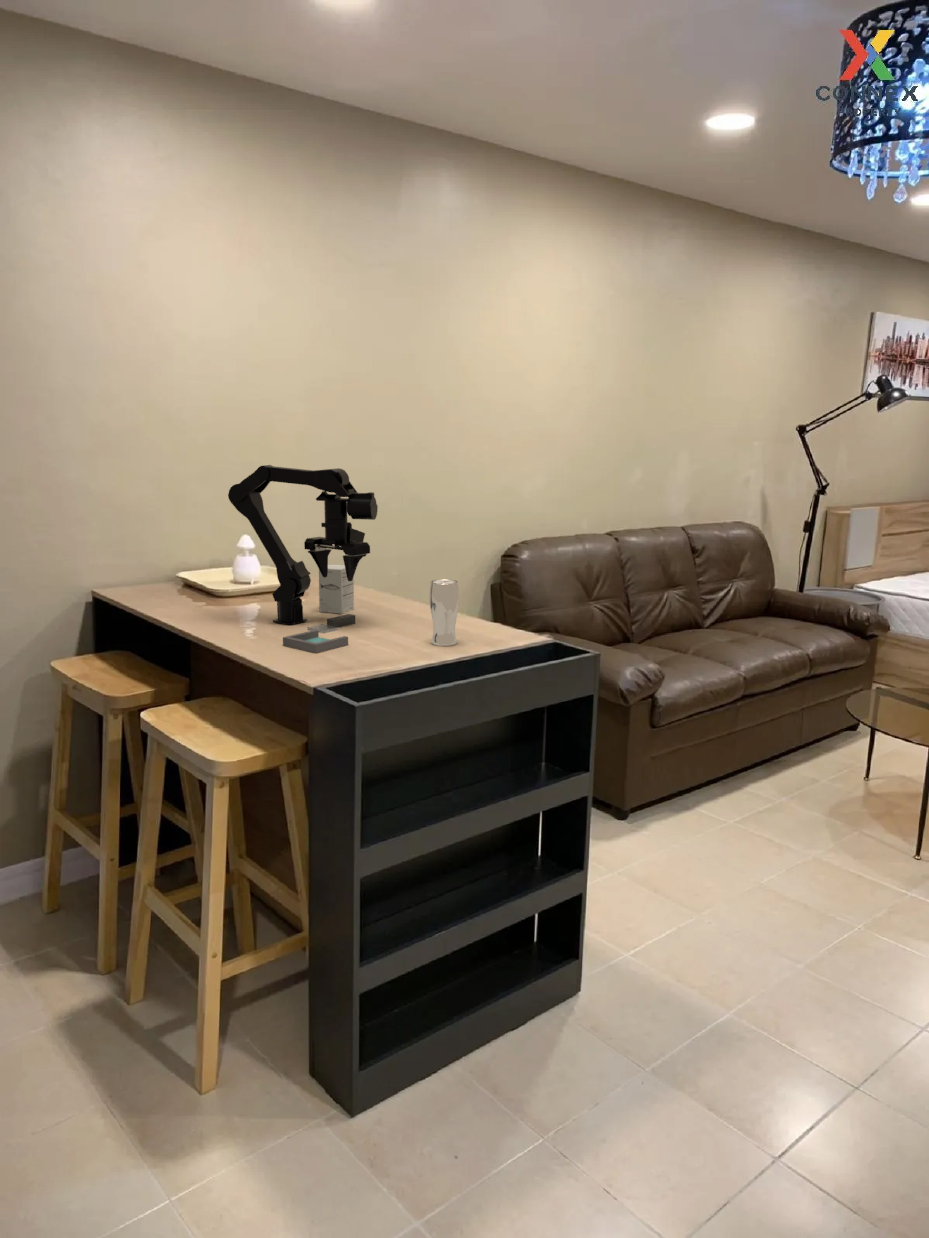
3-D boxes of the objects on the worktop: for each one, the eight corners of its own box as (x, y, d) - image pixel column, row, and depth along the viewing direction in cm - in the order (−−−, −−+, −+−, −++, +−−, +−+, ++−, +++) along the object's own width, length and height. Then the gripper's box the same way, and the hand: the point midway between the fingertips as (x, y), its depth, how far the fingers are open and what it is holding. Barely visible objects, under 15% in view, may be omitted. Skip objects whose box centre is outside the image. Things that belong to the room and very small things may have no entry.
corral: (283, 645, 212) (282, 637, 212) (315, 637, 220) (314, 629, 220) (316, 653, 205) (316, 644, 205) (348, 644, 213) (348, 636, 213)
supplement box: (318, 612, 250) (317, 567, 247) (332, 607, 256) (331, 563, 254) (341, 614, 247) (340, 569, 244) (355, 609, 254) (354, 565, 251)
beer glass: (429, 639, 219) (428, 579, 216) (457, 639, 219) (457, 578, 216) (430, 646, 212) (430, 584, 209) (459, 646, 213) (460, 584, 209)
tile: (302, 647, 213) (302, 641, 213) (318, 643, 217) (317, 637, 217) (318, 650, 210) (317, 644, 210) (333, 646, 214) (332, 640, 214)
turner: (344, 621, 238) (344, 613, 238) (360, 625, 235) (360, 616, 234) (307, 630, 228) (307, 621, 228) (324, 633, 225) (323, 624, 224)
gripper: (384, 518, 229) (385, 579, 233) (333, 514, 241) (334, 571, 244) (353, 522, 221) (354, 584, 224) (302, 517, 232) (303, 576, 235)
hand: (337, 579), depth 232 cm, fingers open, 9 cm apart
